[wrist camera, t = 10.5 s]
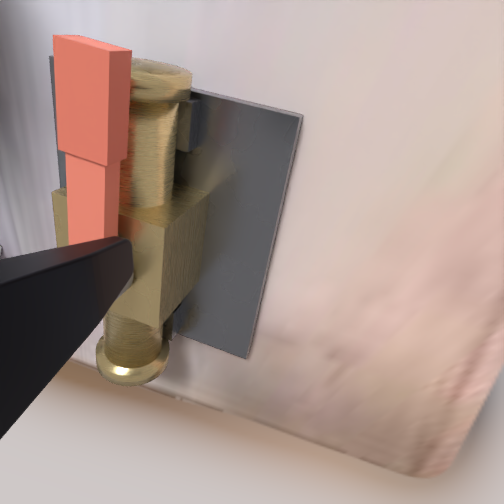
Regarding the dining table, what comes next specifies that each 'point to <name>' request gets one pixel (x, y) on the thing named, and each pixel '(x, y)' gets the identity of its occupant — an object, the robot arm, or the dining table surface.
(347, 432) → the dining table surface
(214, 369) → the dining table surface
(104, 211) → the lever
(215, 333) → the valve body
